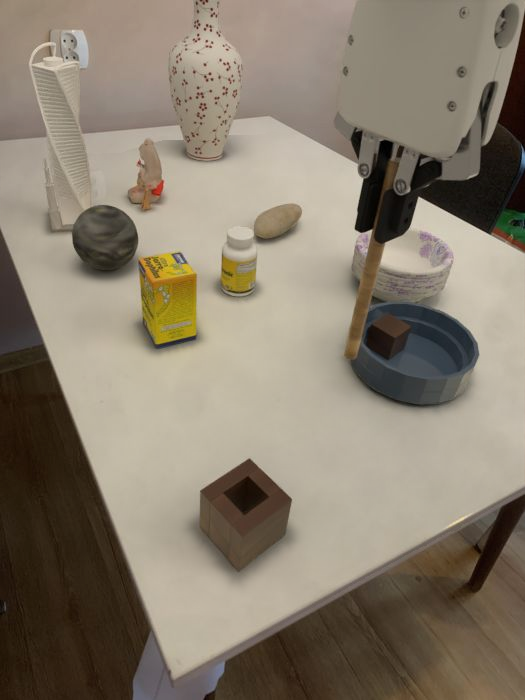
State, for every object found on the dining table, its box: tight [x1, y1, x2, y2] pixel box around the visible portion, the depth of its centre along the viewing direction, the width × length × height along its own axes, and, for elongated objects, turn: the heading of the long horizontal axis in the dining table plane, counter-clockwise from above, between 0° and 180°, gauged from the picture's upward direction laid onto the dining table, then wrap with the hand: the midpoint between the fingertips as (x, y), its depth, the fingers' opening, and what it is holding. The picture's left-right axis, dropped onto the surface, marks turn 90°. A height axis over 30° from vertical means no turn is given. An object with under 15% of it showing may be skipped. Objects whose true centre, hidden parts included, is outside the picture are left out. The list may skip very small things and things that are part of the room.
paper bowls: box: [351, 226, 455, 303], centre depth 86 cm, size 15×15×8 cm
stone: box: [253, 203, 303, 239], centre depth 99 cm, size 6×6×12 cm
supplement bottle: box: [220, 225, 258, 297], centre depth 82 cm, size 5×5×10 cm
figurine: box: [126, 138, 165, 211], centre depth 103 cm, size 9×7×12 cm
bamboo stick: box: [343, 156, 401, 361], centre depth 43 cm, size 1×1×18 cm
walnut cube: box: [366, 313, 411, 360], centre depth 75 cm, size 4×4×4 cm
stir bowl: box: [349, 301, 480, 405], centre depth 73 cm, size 16×16×5 cm
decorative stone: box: [71, 204, 139, 271], centre depth 84 cm, size 10×10×10 cm
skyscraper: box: [28, 41, 93, 233], centre depth 89 cm, size 8×8×28 cm
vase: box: [167, 0, 244, 162], centre depth 116 cm, size 16×16×35 cm
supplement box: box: [137, 250, 198, 350], centre depth 72 cm, size 6×6×11 cm
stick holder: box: [199, 458, 293, 572], centre depth 51 cm, size 6×6×6 cm
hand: (379, 231), depth 41 cm, fingers closed on bamboo stick, 1 cm apart
